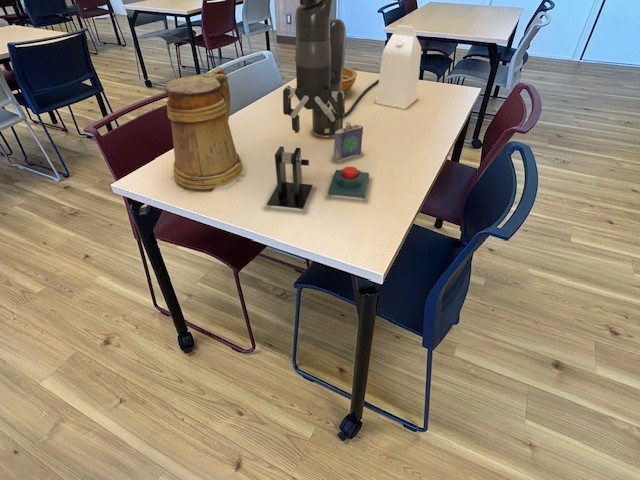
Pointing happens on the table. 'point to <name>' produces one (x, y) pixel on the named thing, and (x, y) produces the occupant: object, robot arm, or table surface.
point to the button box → (349, 185)
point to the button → (349, 172)
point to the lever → (288, 159)
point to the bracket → (289, 183)
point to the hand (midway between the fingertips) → (314, 133)
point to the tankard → (202, 130)
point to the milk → (400, 69)
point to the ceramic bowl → (348, 78)
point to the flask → (348, 141)
